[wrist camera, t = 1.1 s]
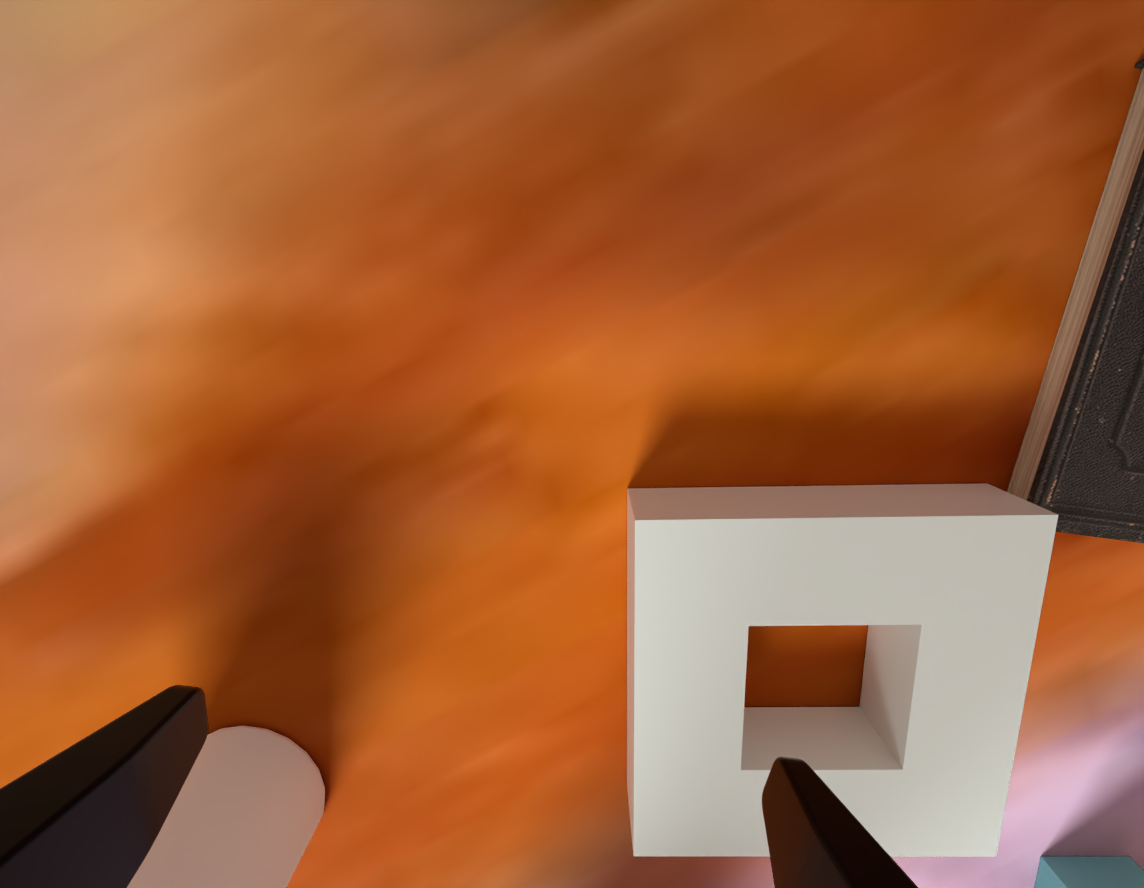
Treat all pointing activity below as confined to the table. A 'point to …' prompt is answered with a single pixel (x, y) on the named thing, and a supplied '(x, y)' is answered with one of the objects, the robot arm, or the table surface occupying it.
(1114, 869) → the peg
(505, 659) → the table surface
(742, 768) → the socket block
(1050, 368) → the hardcover book
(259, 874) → the white bottle
